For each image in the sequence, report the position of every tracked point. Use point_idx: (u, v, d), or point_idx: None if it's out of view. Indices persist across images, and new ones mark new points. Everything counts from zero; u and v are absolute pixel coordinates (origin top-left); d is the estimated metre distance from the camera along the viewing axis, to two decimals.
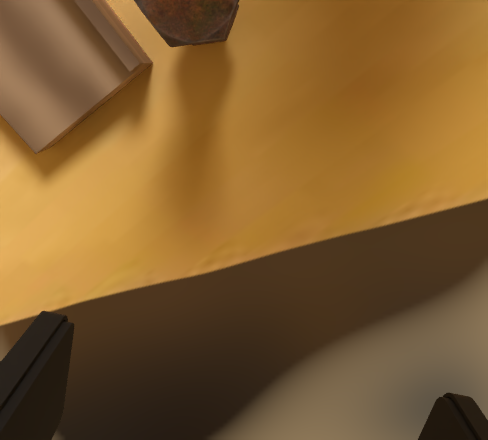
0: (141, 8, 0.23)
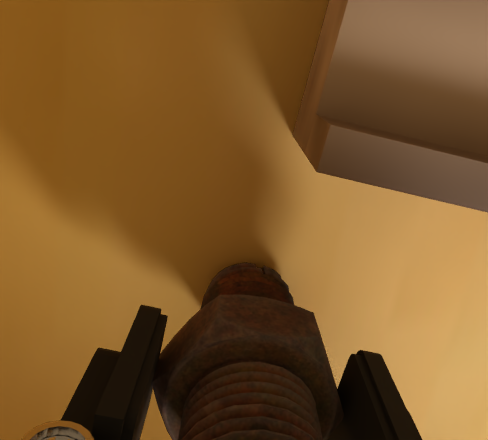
0: None
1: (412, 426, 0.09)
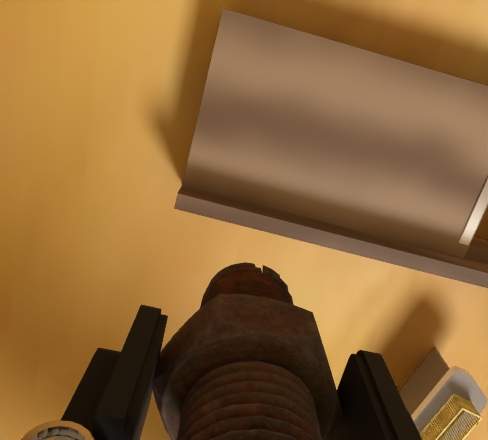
0: None
1: (412, 426, 0.09)
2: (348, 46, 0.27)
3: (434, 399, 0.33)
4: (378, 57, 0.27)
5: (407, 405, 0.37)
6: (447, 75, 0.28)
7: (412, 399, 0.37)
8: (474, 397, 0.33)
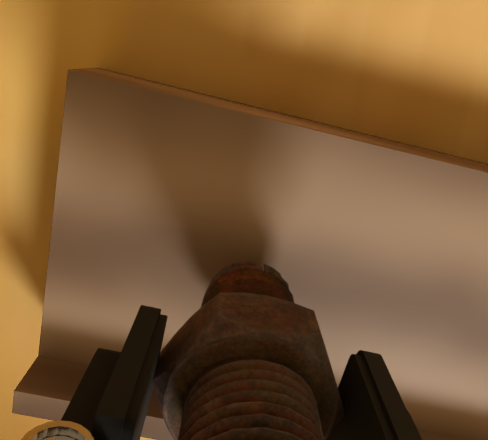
0: None
1: (412, 426, 0.09)
2: (304, 130, 0.15)
3: None
4: (359, 146, 0.15)
5: None
6: (484, 174, 0.15)
7: None
8: None
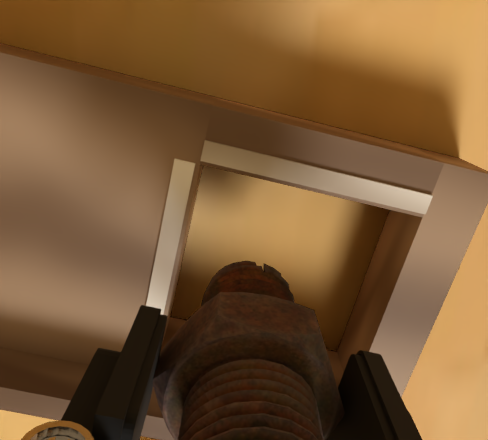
0: None
1: (412, 426, 0.09)
2: None
3: None
4: None
5: None
6: (28, 61, 0.14)
7: None
8: None
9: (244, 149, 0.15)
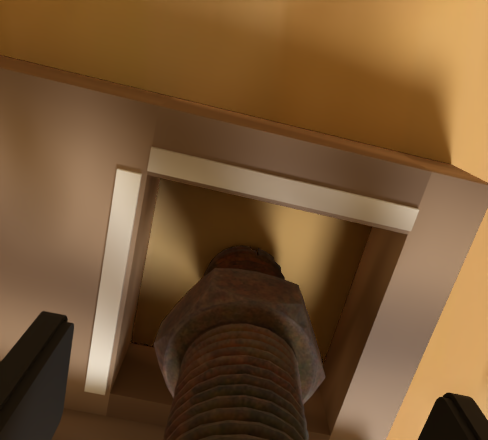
0: None
1: None
2: None
3: None
4: None
5: None
6: None
7: None
8: None
9: (197, 158, 0.13)
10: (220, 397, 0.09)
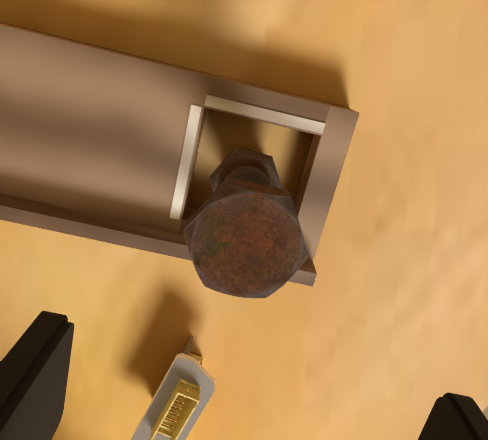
0: (276, 197, 0.19)
1: None
2: (16, 30, 0.28)
3: (164, 385, 0.35)
4: (47, 39, 0.28)
5: None
6: (118, 55, 0.29)
7: None
8: (202, 382, 0.35)
9: (226, 99, 0.29)
10: (241, 176, 0.26)
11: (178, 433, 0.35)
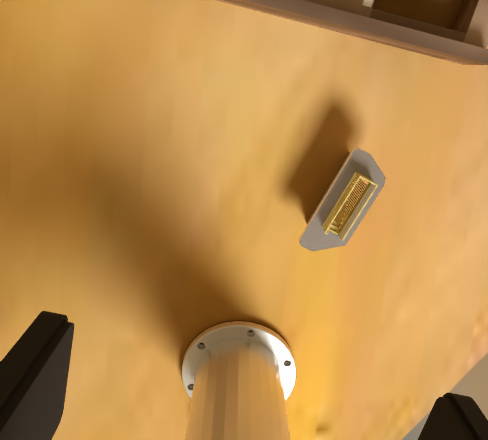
0: None
1: None
2: None
3: (340, 178, 0.39)
4: None
5: None
6: None
7: None
8: (374, 175, 0.39)
9: None
10: None
11: (353, 221, 0.39)
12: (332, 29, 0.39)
